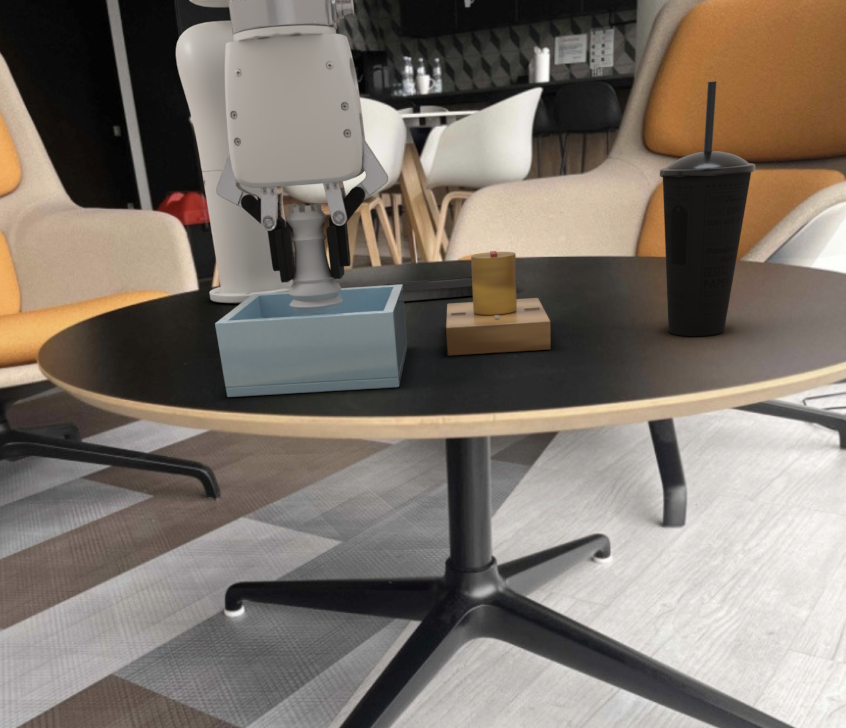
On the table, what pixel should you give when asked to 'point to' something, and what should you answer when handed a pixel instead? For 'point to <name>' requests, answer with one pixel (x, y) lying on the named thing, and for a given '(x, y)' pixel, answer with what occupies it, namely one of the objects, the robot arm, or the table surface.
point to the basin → (314, 344)
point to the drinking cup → (703, 232)
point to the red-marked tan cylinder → (494, 283)
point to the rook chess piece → (311, 262)
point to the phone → (436, 288)
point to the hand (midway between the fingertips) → (313, 276)
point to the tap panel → (497, 329)
